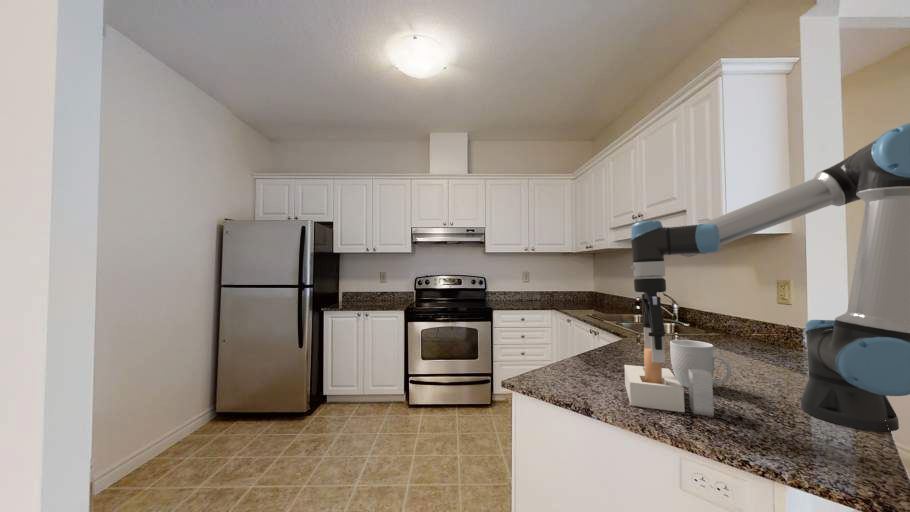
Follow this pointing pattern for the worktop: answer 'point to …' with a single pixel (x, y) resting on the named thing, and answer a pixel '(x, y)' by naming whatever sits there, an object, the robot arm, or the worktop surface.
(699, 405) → the square bit
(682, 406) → the socket block
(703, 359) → the mug
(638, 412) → the worktop surface
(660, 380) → the dowel
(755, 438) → the worktop surface
